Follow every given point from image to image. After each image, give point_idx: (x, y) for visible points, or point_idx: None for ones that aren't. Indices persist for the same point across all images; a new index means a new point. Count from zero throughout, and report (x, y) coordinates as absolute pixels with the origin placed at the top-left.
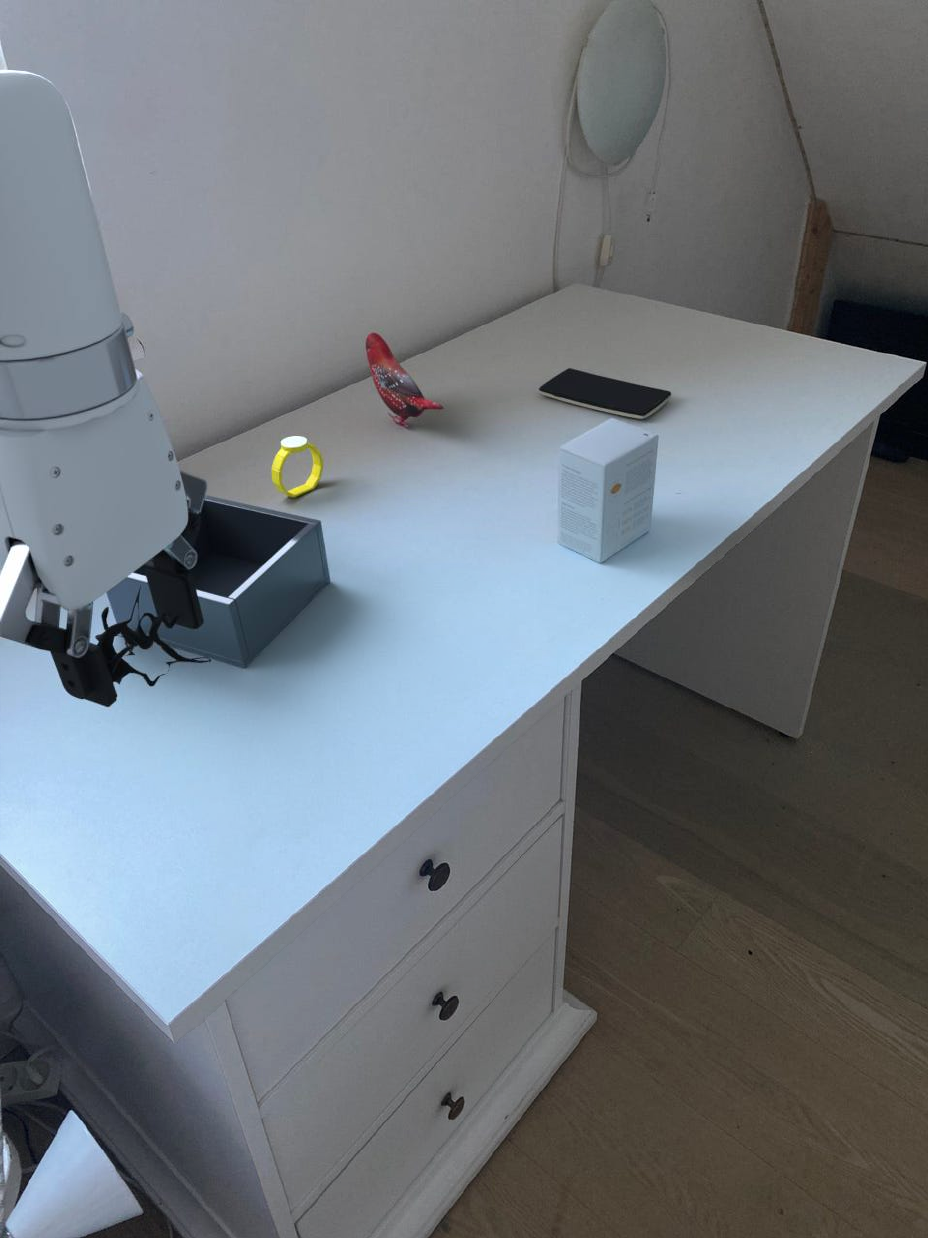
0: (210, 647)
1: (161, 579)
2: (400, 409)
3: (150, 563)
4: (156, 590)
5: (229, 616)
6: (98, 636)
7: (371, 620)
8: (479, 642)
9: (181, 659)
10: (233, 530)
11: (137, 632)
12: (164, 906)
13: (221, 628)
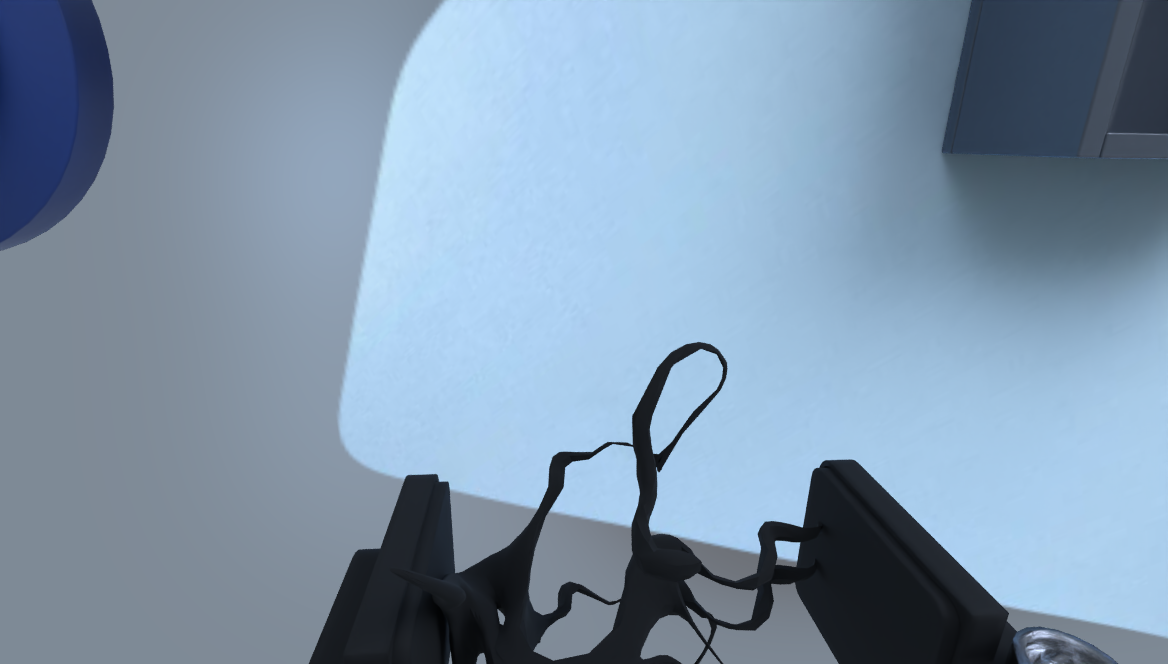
0: (980, 67)
1: (908, 658)
2: None
3: (988, 629)
4: (877, 573)
5: (1047, 149)
6: (641, 423)
7: (1105, 299)
8: (1062, 482)
9: None
10: None
11: (661, 615)
12: (446, 358)
13: (1020, 113)
